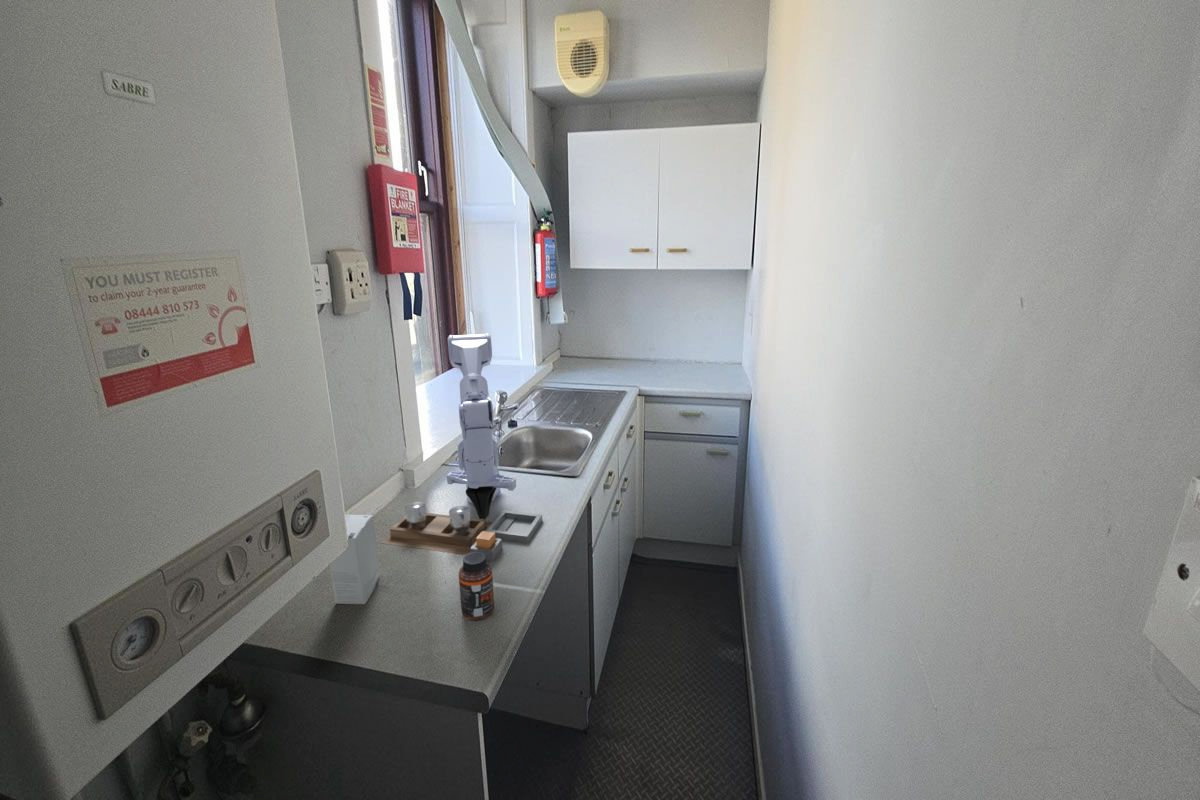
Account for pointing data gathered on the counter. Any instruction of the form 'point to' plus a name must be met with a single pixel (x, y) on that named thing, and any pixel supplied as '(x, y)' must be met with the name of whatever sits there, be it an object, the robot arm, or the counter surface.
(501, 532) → the shallow grey tray
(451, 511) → the billet
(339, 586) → the skincare box
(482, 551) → the button housing
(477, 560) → the supplement bottle
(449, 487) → the counter surface
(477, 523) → the wooden compartment tray
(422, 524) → the cylinder
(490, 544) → the button
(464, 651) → the counter surface
